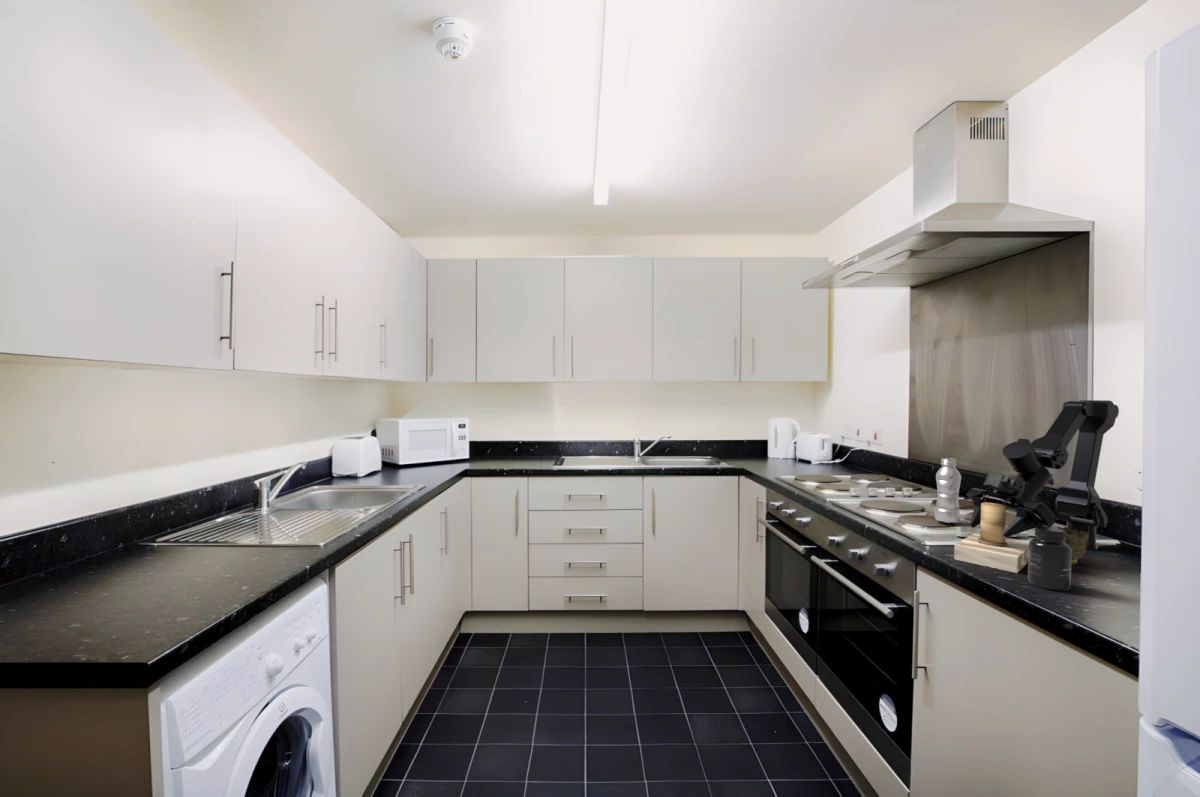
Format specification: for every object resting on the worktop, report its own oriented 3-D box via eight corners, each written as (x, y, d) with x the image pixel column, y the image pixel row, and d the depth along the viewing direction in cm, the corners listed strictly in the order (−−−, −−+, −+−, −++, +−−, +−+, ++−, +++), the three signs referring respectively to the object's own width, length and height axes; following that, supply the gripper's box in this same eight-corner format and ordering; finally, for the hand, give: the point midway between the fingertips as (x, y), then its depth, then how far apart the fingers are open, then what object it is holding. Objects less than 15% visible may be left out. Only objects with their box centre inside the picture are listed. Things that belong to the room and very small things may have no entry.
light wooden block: (973, 546, 134) (973, 533, 134) (1032, 558, 125) (1032, 544, 125) (954, 559, 123) (954, 544, 123) (1017, 573, 114) (1017, 557, 114)
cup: (1070, 558, 125) (1071, 526, 124) (1097, 569, 117) (1098, 534, 117) (1038, 557, 125) (1038, 525, 125) (1062, 568, 118) (1062, 533, 118)
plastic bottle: (930, 520, 161) (931, 457, 160) (953, 521, 160) (954, 458, 160) (940, 525, 154) (942, 460, 154) (965, 526, 153) (966, 460, 153)
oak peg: (981, 551, 129) (982, 501, 129) (1009, 557, 125) (1010, 505, 124) (974, 556, 125) (976, 504, 125) (1003, 562, 121) (1004, 508, 121)
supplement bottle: (1074, 594, 102) (1076, 535, 102) (1030, 587, 106) (1032, 530, 106) (1066, 583, 108) (1067, 527, 108) (1024, 577, 112) (1026, 522, 112)
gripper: (973, 457, 134) (936, 500, 133) (1047, 468, 116) (1005, 518, 114) (997, 486, 136) (961, 529, 134) (1074, 501, 118) (1033, 551, 116)
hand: (987, 530), depth 125 cm, fingers open, 8 cm apart
